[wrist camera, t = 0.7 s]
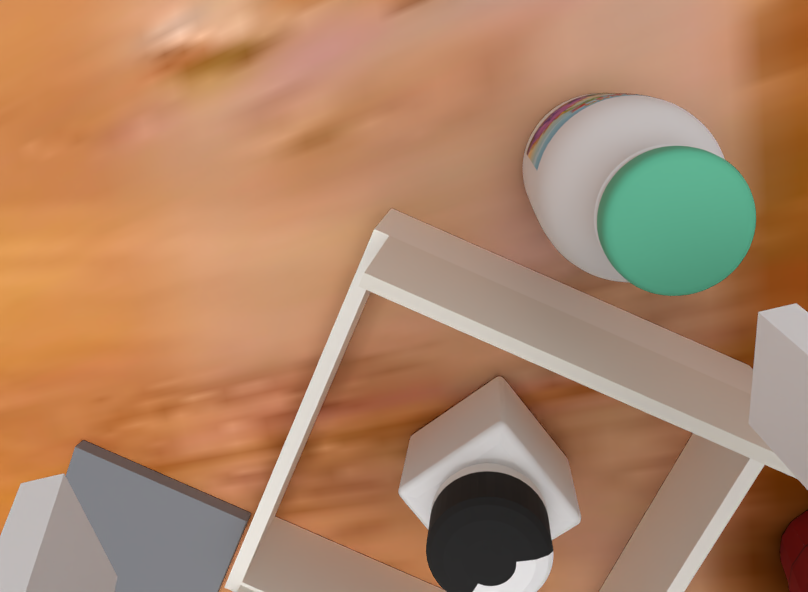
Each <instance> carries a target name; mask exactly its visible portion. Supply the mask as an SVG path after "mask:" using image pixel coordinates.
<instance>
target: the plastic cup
mask: <svg viewBox="0 0 808 592" xmlns="http://www.w3.org/2000/svg"><path fill="white" fill-rule="evenodd" d="M780 555H781V556H780V560H781V563H782V566H783V569H784V572H785V575H786V577H787V580H788V583H789V585H788V588H789V591H790V592H808V511H806V512H804V513H803V514H801V515H800V516H799V517H797V518H796V519H794V520H793V521H792V522H791V523H790V524H789V526H788V528H787V529H786V531H785V532H784V534H783V535H782V539H781V546H780Z"/></svg>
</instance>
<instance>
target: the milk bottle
mask: <svg viewBox="0 0 808 592" xmlns="http://www.w3.org/2000/svg"><path fill="white" fill-rule="evenodd" d="M523 180H524V185H525V189H526V193H527V196H528V198H529V201H530V203H531V205H532V208H533V210H534V213H535V215H536V217H537V219H538V221H539V223H540V225H541V227H542V229H543V231H544V233H545V234H546V235H547V237H548V238H549V240H550V241H551V243H552V244H553V245H554V247H555V248H556V249H557V250H558V251H559V253H561V254H562V255H563V256H564V257H565V258H566V259H567V260H568V261H570V262H571V263H572V264H574V265H575V266H577V267H579V268H580V269H582V270H583V271H585V272H587V273H590V274H592V275H594V276H597V277H599V278H603V279H607V280H612V281H618V282H630V283H631V284H633V285H635V286H636V287H638V288H640V289H642V290H645V291H648V292H651V293H654V294H659V295H668V296H680V295H688V294H693V293H697V292H700V291H703V290H706V289H708V288H710V287H712V286H714V285H716V284H718V283H719V282H721V281H722V280H724V279H725V278H726V277H727V276H729V275H730V274H731V273H732V272H733V271H734V270H735V269H736V268H737V267H738V265H739V264H740V263H741V261H742V260H743V259H744V257H745V255H746V254H747V252H748V250H749V248H750V245H751V243H752V240H753V236H754V232H755V227H756V210H755V204H754V200H753V196H752V193H751V191H750V188H749V186H748V184H747V182H746V181H745V179H744V178H743V176H742V175H741V174H740V173H739V171H738V170H737V169H736V168H735V167H734V166H732V165H731V164H730V163H729V162H727V161H726V160H725V159H724V156H723V153H722V151H721V149H720V147H719V145H718V143H717V141H716V140H715V138H714V137H713V135H712V134H711V133H710V131H709V130H708V129H707V128H706V127H705V126H704V125H703V124H702V123H701V122H700V121H699V120H698V119H697V118H695V117H694V116H693V115H692V114H690V113H689V112H687V111H686V110H684V109H683V108H681V107H679V106H677V105H675V104H673V103H670V102H668V101H665V100H662V99H658V98H654V97H650V96H644V95H638V94H621V93H596V94H587V95H583V96H579V97H575V98H573V99H570V100H568V101H566V102H563V103H562V104H560V105H558V106H557V107H555V108H554V109H552V110H551V111H550V112H549V113H548V114H547V115H545V116H544V118H543V119H542V120H541V121H540V122H539V123H538V125H537V126H536V127H535V129H534V130H533V132H532V134H531V136H530V138H529V140H528V143H527V145H526V149H525V152H524V157H523Z"/></svg>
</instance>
